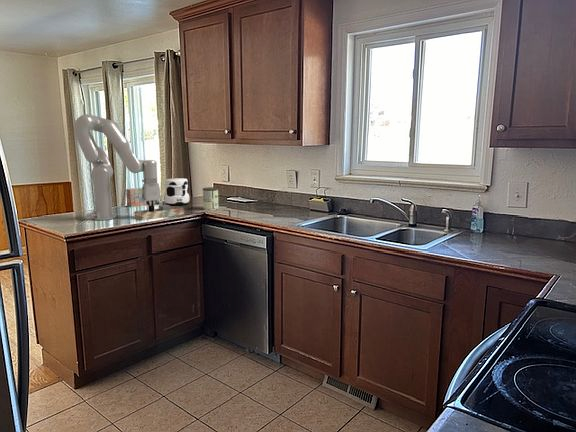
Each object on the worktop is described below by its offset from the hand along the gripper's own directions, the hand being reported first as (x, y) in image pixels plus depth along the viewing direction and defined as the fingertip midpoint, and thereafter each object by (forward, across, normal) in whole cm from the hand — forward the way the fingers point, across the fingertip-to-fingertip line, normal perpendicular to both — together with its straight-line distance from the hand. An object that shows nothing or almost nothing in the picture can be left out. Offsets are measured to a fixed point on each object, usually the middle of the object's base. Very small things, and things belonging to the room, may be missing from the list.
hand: (151, 211), depth 261 cm
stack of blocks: (+4, +20, +47) cm, 51 cm away
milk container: (+3, +38, +33) cm, 50 cm away
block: (+1, +9, 0) cm, 9 cm away
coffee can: (+3, +43, 0) cm, 43 cm away
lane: (+3, +5, 0) cm, 6 cm away
